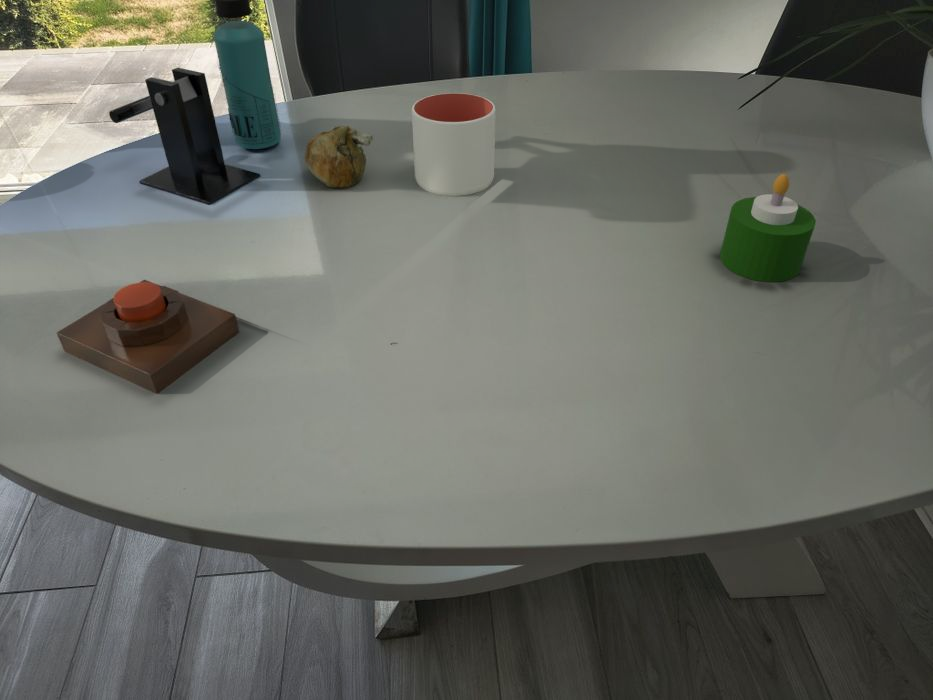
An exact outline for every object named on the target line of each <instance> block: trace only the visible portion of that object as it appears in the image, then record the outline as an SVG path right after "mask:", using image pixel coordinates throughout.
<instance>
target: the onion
mask: <svg viewBox="0 0 933 700" xmlns="http://www.w3.org/2000/svg"><path fill="white" fill-rule="evenodd" d="M373 139H374V137H373V136H372V135H371V134H366V133H361V132H360V131H359V130H358V129H356V128H353V127H352V126H349V125H335V126H334V128H333V129H329V130H327V131H323V132H321V133H319V134H317V135H315V136H313V137H312V138H311V139H309V141H308V143H307V145H306V148H305V152H304V153H305V154H304V161H305V165H306V167H307V168H308V169H309V171H310V172H311V174H312V175H313V176H314V177H315V179H317V180H319V182H321V183H323V184H324V185H325V186H326V187H328V188H332V189H333V188H334V189H335V188H336V189H337V188H339V189H343V188H349V187H353V186H355V185H357V184H358V183H359V182H360V181H361V179H362V178H363V176H364V173H365V170H366V164H367V157H366V154H365V153H364V149H363V146H366V147H369V146H370V145H371V142H372V141H373ZM359 145H361V146H359Z"/></svg>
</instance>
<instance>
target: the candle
mask: <svg viewBox="0 0 933 700" xmlns="http://www.w3.org/2000/svg"><path fill="white" fill-rule="evenodd" d="M789 188H790V179H789V177H788V175H787V174H786V173H781V174H780V175H778V176H777V178H776V179H775V180H774V182H773V185H772V194H770V193H769V194H761V195H758V196H751V197H745V198H742V199H740V200H737V201H736V202H734V203H733V204H732V205H731V208H730V212H729V216H728V220H727V223H726V228H725V231H724V236H723V240H722V244H721V247H720V252H719V259H720V261H721V264H723V266H724V267H725V268H726V269H728V270H729V271H731V272H732V273H734V274H736V275H737V276H740V277H743V278H745V279H748V280H752V281H757V282H763V283H764V282H766V283H779V282H785V281H788V280H791V279H793V278H795V277H796V276H798V274H799V273H800V271H801V269H802V265H803V262H804V259H805V257H806V254H807V251H808V247H809V244H810V241H811V238H812V236H813V232H814V230H815V226H816V218H815V216H814V215H813V213H811V211H810V210H808V209H807V208H805V207H803V206H802V205H800V204H797V202H796V201H795V200H793V199H791V198H789V197H786V196H785V195H786V193H787V192H788V190H789Z"/></svg>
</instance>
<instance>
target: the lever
mask: <svg viewBox="0 0 933 700" xmlns="http://www.w3.org/2000/svg"><path fill="white" fill-rule="evenodd" d="M173 82H175V83H179V87H180V91H181V95H182V99H183V102H186V101H188V100H191V99H193V98H195V97H197V94H196V92H195V90H194V88H193V86H192V84H191V82H190V80H189V78H188V76H187V77H184V78H182V79H179V80H176V81H173ZM151 110H153V107H152V103H151V100H150V96H149V95H147V96H145V97H141V98H140V99H137V100H134V101H132V102H130V103H127V104H124V105H121V106H120V107H119V106H118V107H116V108H114V109H111V110H110V111H109V112H108V115H109V118H110V120H111V121H112V122H113V123H115V124H119V123H122V122H123V121H127V120H129V119H132V118H134V117H137V116H138V115H141V114H143V113H146V112H149V111H151Z"/></svg>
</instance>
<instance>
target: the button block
mask: <svg viewBox="0 0 933 700" xmlns="http://www.w3.org/2000/svg"><path fill="white" fill-rule="evenodd" d="M140 282H149V283H154V284H156V285H158V286H159V287H160V288H161V291H162V294H163V298H164V301H165V304H166V308H165V311H164V312H163V313H161V314H159V315H158V316H156V317H155V318H152V319H149V320H146V321H142V322H124V321H123V320H121V319H120V317H119V315H118V312H117V309H116V307H115V304H114V301H113V298H114V297H112V298H110V299H109V300H107V301H106V302H104V303H103V304H101V305H100V306H98V307H96V308H95V309H93V310H91V311H90V312H88V313H86V314H85V315H83V316H81V317H80V318H78V319H76V320H75V321H73V322H72V323H70V324H68V325H67V326H65V327H64V328H61V329H60V330H59V331H57V332H56V335H57V338H58V340H59V342H60V344H61V346H62V349H63V351H64V352H65V353H67V354H69V355H71V356H73V357H76V358H78V359H80V360H82V361H85V362H87V363H89V364H91V365H93V366H95V367H97V368H99V369H102V370H104V371H105V372H108V373H110V374H112V375H114V376H116V377H119V378H121V379H123V380H125V381H128V382H130V383H132V384H134V385H136V386H138V387H141V388H142V389H145V390H147V391H149V392H151V393H153V394H155V395H158V394H160V393H161V392H162V391H164V390H165V389H166V388H167V387H169V386H170V385H171V384H174V382H176V381H177V380H179V378H181V377H182V376H184V375H185V374H186V373H187V372H189V371H190V370H191V369H193V368H194V367H196V366H197V365H198V364H200V363H201V362H203V360H206V358H207V357H209V356H211V354H213V353H214V352H216V351H217V350H218V349H220V348H221V347H222V346H224V345H225V344H226V343H228V342H229V341H230V340H232V339H233V338H234V337H236V336H237V335H238V334H239V333H240V329H239V325H238V321H237V316H236V314H235V313H234V312H231V311H228V310H226V309H223V308H221V307H218V306H215V305H214V304H213V305H212V304H210V303H207V302H204V301H202V300H199V299H197V298H195V297H191V296H189V295H186V294H184V293H181V292H180V291H178V290H177V289H173V288H171V287H168V286H166V285H160V284H157V283H155V282H152V281H149V280H147V279H143V280H141V281H139V282H138V283H140Z"/></svg>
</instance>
